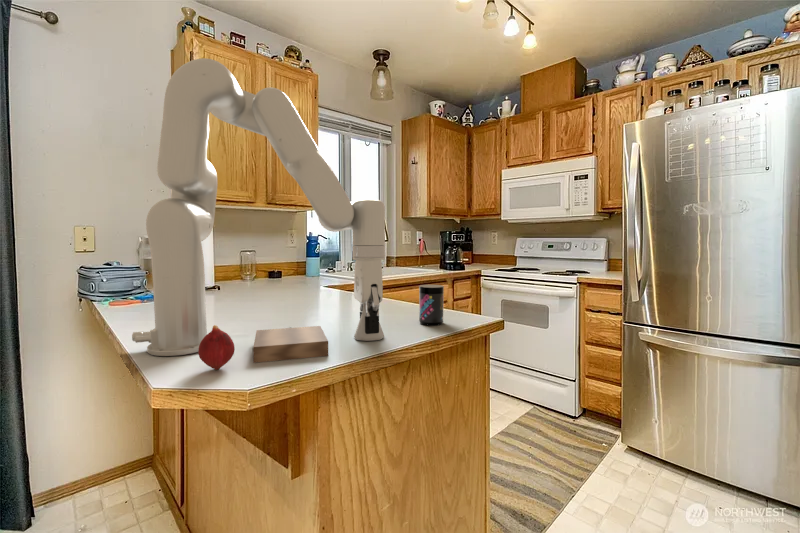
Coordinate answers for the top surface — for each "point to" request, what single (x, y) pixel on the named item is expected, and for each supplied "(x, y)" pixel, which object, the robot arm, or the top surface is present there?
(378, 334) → the flask
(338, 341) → the top surface
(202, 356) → the onion
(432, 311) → the supplement container
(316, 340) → the block
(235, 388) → the top surface
